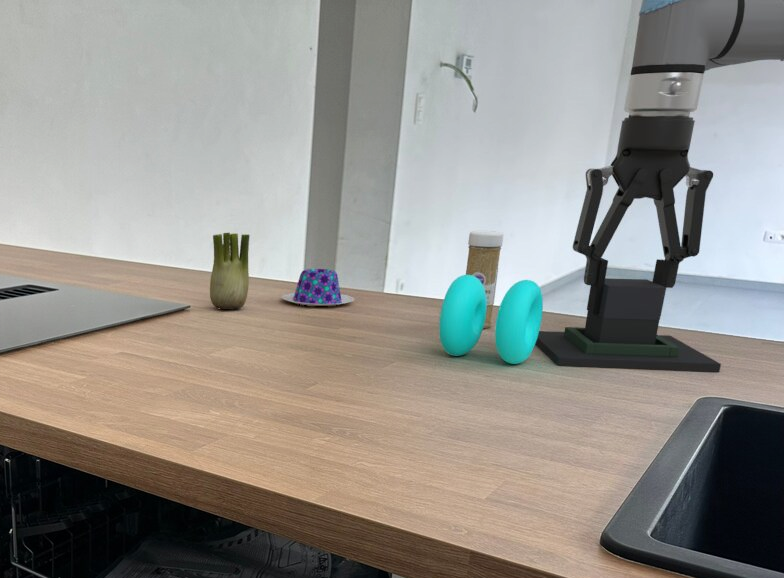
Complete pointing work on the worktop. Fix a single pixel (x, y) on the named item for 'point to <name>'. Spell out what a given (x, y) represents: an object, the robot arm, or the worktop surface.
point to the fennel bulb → (229, 271)
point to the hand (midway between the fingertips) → (623, 312)
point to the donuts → (512, 325)
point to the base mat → (622, 353)
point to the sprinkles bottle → (485, 264)
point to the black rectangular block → (620, 330)
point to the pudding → (318, 289)
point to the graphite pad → (631, 299)
